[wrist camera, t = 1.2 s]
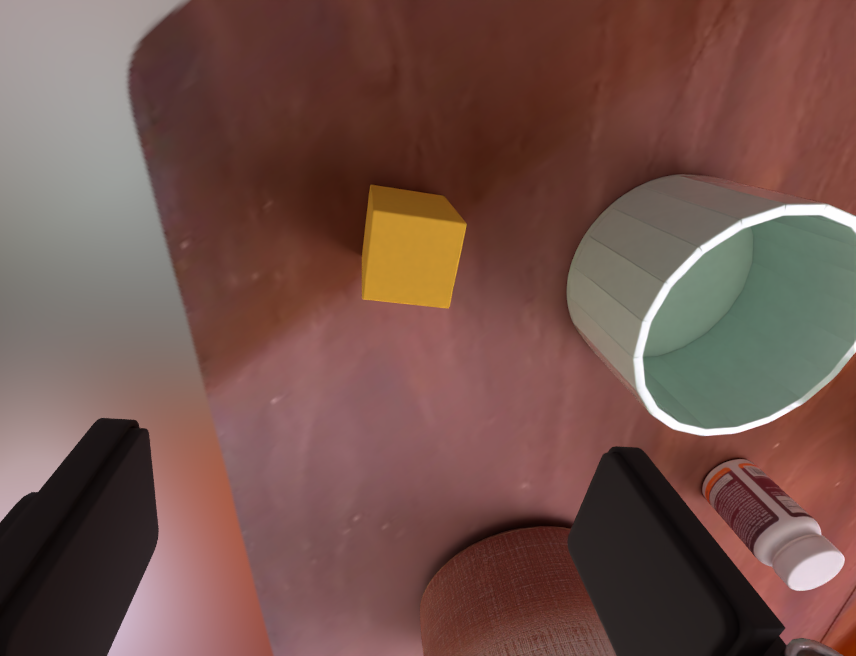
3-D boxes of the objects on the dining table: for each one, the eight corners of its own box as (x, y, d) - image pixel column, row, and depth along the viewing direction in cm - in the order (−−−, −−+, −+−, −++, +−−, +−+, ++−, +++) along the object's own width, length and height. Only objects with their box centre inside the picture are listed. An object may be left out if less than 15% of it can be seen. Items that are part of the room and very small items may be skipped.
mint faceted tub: (531, 257, 27) (592, 315, 20) (719, 127, 25) (860, 141, 18) (613, 388, 32) (683, 471, 25) (774, 290, 30) (899, 350, 23)
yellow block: (361, 257, 26) (361, 299, 20) (370, 184, 24) (372, 209, 19) (431, 266, 27) (449, 309, 21) (444, 195, 25) (467, 223, 20)
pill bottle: (703, 508, 39) (782, 604, 32) (697, 470, 37) (780, 564, 30) (757, 487, 39) (849, 579, 32) (754, 448, 37) (853, 537, 30)
